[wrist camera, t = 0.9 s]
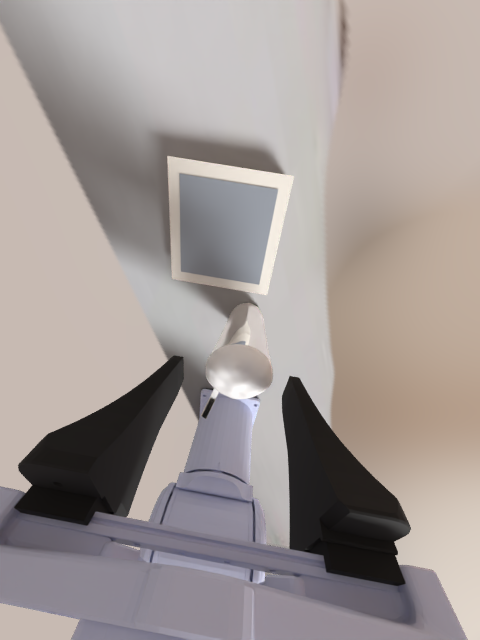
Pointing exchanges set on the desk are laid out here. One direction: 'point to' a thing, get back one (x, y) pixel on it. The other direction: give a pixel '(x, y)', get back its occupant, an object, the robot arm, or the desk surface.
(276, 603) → the robot arm
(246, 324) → the milkshake
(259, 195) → the plinth
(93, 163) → the desk surface
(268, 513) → the desk surface
